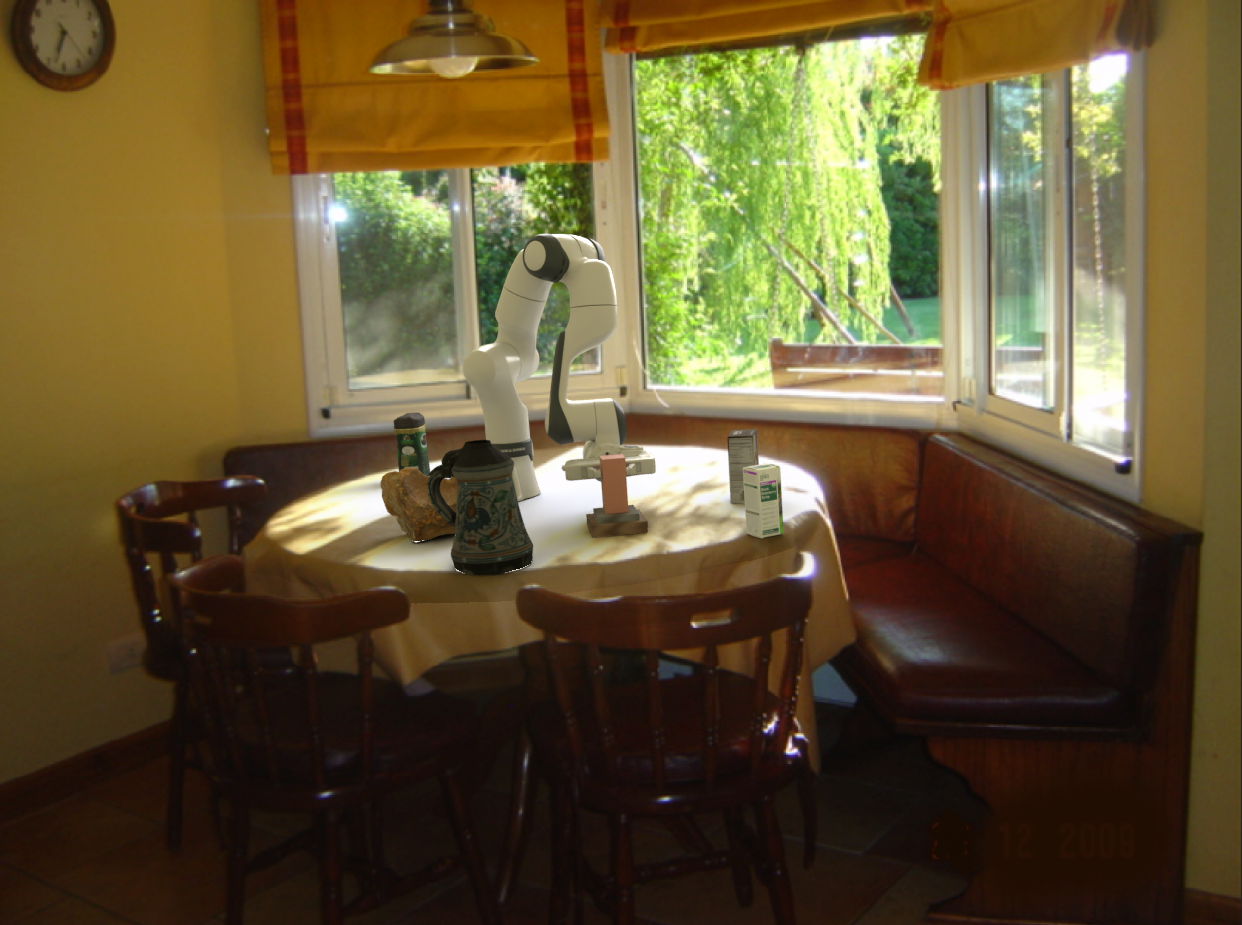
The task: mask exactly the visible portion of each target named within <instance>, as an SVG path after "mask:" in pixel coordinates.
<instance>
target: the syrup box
mask: <svg viewBox="0 0 1242 925" xmlns="http://www.w3.org/2000/svg"><path fill="white" fill-rule="evenodd" d="M743 483H744V499H745V503H744V512H745V530H746V534H747V535H750V536H752V537H756V538H758V539H764V538H769V537H774V536H778V535H779V536H781V535H784V516H783V514H784V513H783V497H782V496H783V495H782V494H783V492H782V475H781V467H780V465H777V464H773V463H766V462H764V463H762V464H759V465H755V466H749V467H743Z"/></svg>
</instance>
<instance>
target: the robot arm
mask: <svg viewBox="0 0 1242 925" xmlns="http://www.w3.org/2000/svg"><path fill="white" fill-rule="evenodd" d="M559 282H561V283H563V284H565V286H566V287H567V289H568V292H569V310H570V313H569V320H568V322H567V326H566V327H565V329H564V330H562V331H560V332H559V334H558V336H557V340H556V344H555V350H554V356H553V361H552V362H553V364H552V372H551V380H550V388H549V389H550V391H549V401H548V406H547V408H546V412H545V418H544V428H545V431H546V436H547V437H548V438H549V439H551V440H552V441H553V442H554V443H556V444H558V445H559V446H561V445H567V444H572V443H577V442H578V443H579V442H585V444H584V445H583V448H582V458H574V459H569V460H566V461H565V463H564V465H563V464H562V466H561V470H562V471H563V472H564V473H565V474H564V475H565V480H566V481H570V482H574V481H584V480H596V481H598V482H600V483H601V470H600V456H604V455H616V454H623V456H624V457H625V463H626V478H628V477H629V478H630V477H634V476H635V477H636V476H640V475H641V476H642V475H654V474H655V473H656V471H657V468H656V466H657V465H656V457H655V456H654V455H653V454H652V453H651V452H649V451H647V450H645V449H644V446H642V445H624V442H625V440H626V438H627V420H626V415H625V411H624V409H623V407H622V406H621V405H620V403H619V402H618V401H617V400H616V399H614V398H610V397H609V398H593V399H581V400H580V399H579V400H578V399H577V400H576V399H575V400H570V399H569V398H568V388H569V382H570V381H569V379H570V373H571V372H570V371H571V366H572V363H573V362H574V360H575V359H576V358H578V357H579V356H581V355H582V354H583V353H586V352H588V351H590V350H593V349H596V348H597V347H600V346H601V345H603V344H605V343H606V342H607V341H609V340H610V339H611V338H612V337H613V335H614V334H615V333H616V331H617V329H618V321H619V319H618V318H619V316H618V315H619V314H618V310H619V309H618V299H617V291H616V284H615V280H614V274H613V272H612V269H611V267H610V265H609V264H608V263H606V255H605V251H604V249H603V247H602V245H601V244H600V243H599V242H597V241H595V240H594V239H592V238H590V237H586V236H578V235H575V234H567V233H564V234H562V233H561V234H560V233H559V234H558V233H557V234H553V233H552V234H551V233H540V234H537V235H533V236H532V237H530V238H529V239H527V241H526V242H525V244H524V247H523V249H520V251H519V252H518V253H517V255H516V257H515V258H514V260H513V262H512V264H511V266H510V269H509V271H508V273H507V275H506V278H505V281H504V284H503V287H502V291H501V292H500V296H499V299H498V302H497V306H496V309H495V311H494V312H495V314H494V317H495V319H496V321H497V323H498V328H497V336H496V337H497V338H496V340H495V341H494V342H492V343H488V344H483V345H480V346H478V347H477V348H475V349H472V351H470V352H469V353H467V355H466V356H465V357H464V360H463V363H462V372H463V376H464V378H465V380H466V381H467V383H468V384H469V385H470V386H472V387H473V389H474V390H475V392H476V395H477V397H478V400H479V402H480V403H479V404H480V406H481V409H482V414H483V422H484V430H485V440H490V441H491V444H492V445H494V446H495V447H496V448H497V449H498V450H500V451H502V452H503V453H505V454H506V455H508V456H509V457H510V458H511V459H512V460H513V461H514V470H513V472H512V478H513V483H514V487H515V491H516V496H517V499H518V502H520V501H522V500H525V499H529V498H533V497H536V496H539V495H540V493H541V492H542V491H541V489H540V486H539V483H538V480H537V476H536V472H535V468H534V462H533V461H534V445H533V440H532V438H531V435H530V423H529V420H530V419H529V410H528V407H527V405H526V404H524V403H523V402H522V400H521V398H520V396H519V394H518V390H517V387H516V384H517V383H521V382H524V381H525V380H527V379H529V378H530V377H531V376H533V375H534V374H535V373H536V372H537V370H538V369H539V365H540V355H539V351H538V349H537V337H538V331H539V326H540V322H541V320H542V319H541V318H542V317H543V312H544V310H545V308H546V304H547V300H548V298H549V295H550V291H551V288H552V286H553V284H557V283H559Z"/></svg>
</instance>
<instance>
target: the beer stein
mask: <svg viewBox="0 0 1242 925" xmlns="http://www.w3.org/2000/svg"><path fill="white" fill-rule="evenodd" d="M440 461H441V462H440V463H441V464H439V465H437V466H435V467H434V468H433V469H432V470H430V473H429V475H428V477H429V478H428V481H427V492H428V496H429V499H430V501H431V503H432V505H433V507H434V508H435V509H436V511H437V512H438V513H439V514H440V515H441V516H442V517H443V518H444V519H445V520H446V521H447V522H448V523H449V524H450V525H452V526H453V527H455V528H456V530H455V534H454V539H453V542H452V547H451V550H450V559H451V562H452V563H453V566H454V569H455V568H456V569H457V570H459V571H461V572H463V573H465V574H468V575H467V576H475V577H476V576H477V577H479V576H480V577H482V576H484V577H485V576H499V575H505V574H504V573H505V572H509V571H512V570H516V569H520V568H523V567H525V566H527V565H529V564H531V565H532V563H531V561H532V562H533V560H532V559H533V552H534V543H533V541H532V539H531V538H530V534H528V531H527V528H526V525H525V523H524V519H523V516H522V513H521V508H520V504H519V501H518V499H517V496H516V491H515V487H514V483H513V478H512V472H513V470H514V461H513V460H512V459H511V458H510V457H509V456H508V455H506V454H505V453H503V452H502V451H500V450H498V449H497V448H496V447H495V446H494V445H492V444H491V441H490V440H486V439H478V440H476V439H475V440H468V441H465V442H464V444H463V446H462V447H461V448H458V449H453V450H452V449H451V450H448V451H447V452H445V453H444V456H443V457H442V458H441V460H440ZM451 477H455V478H456V479H457V505H456V512H455V511H454V510H453V509H452V508H451V507H450V506H449V505H448V504H447V503H446V501H445V500H444V498H443V497H442V495H441V493H440V484H441V481H442V480H443V479H444V478H445V479H450V478H451ZM529 566H530V565H529ZM527 567H528V566H527ZM525 568H526V567H525ZM465 574H464V575H465ZM469 574H470V575H469Z"/></svg>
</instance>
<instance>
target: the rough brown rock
mask: <svg viewBox="0 0 1242 925" xmlns="http://www.w3.org/2000/svg"><path fill="white" fill-rule="evenodd" d="M428 478H429V476H425V475H424V474H422V473H421V472H420V470H419V469H417V468H412V467H409V468H404V469H401V470H400V471H399V470H398V471H397V470H394V471H390V472H387V473H385V474H383V475H382V476H381V480H380V482H379V483H380V488H381V498H382V501H383V504H384V507H385V509H386V512H387V513H388V514H390V515H391V516H393V517H395V519H396V522H397V524H398V525H399V527H400V529H401V531H402V532H403V531H404V532H403V533H405V532H407V533H408V534H407V533H406V534H407V535H408V536H409V538H410V540H411V541H412V540H413V541H422V540H428V539H430V540H432V539H435V538H437V537H439V536H444V535H451V534H453V535H455V530H456V528H455V527H453V526H452V525H450V524H449V523H448V522H447V521H446V520H445V519H444V518H443V517H442V516H441V515H440V514H439V513H438V512H437V511H436V509H435V508H434V507H433V505H432V503H431V501H430V499H429V496H428V492H427V481H428ZM440 493H441V495H442V497H443V498H444V500H445V501H446V503H447V504H448V505H449V506H450V507H451V508H452V509H453V510H454V511H455V512H456V505H457V479H456V478H455V477H451V478H444V479H443V480H442V481H441V484H440ZM428 541H429V540H428Z"/></svg>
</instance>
